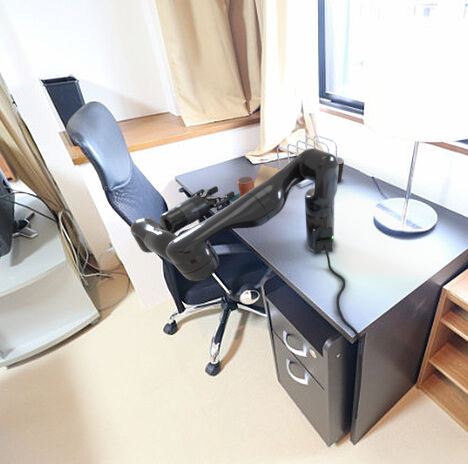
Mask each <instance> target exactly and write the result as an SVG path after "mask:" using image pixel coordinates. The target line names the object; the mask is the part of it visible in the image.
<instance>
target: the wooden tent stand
mask: <svg viewBox="0 0 468 464" xmlns="http://www.w3.org/2000/svg"><path fill="white" fill-rule="evenodd" d="M280 170H281V168H280V169H279V168H276V167H271V166H268V165H264V164H261V165H260V167H259V170H258V172H257V174H256V177H255V179H254V186H255V187H256V186H258V185H260V184H261V183H263V182H264V181H266V180H267V179H269V178H270V177H272V176H273V175H274V174H276V173H277V172H279V171H280Z"/></svg>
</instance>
